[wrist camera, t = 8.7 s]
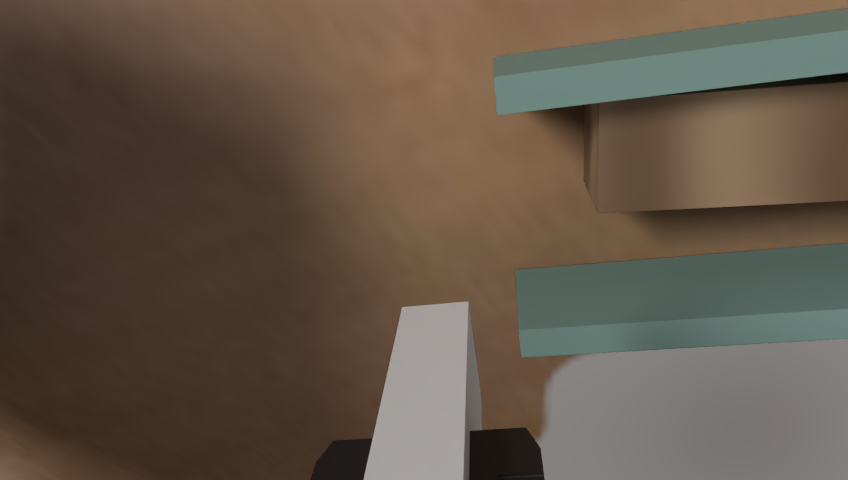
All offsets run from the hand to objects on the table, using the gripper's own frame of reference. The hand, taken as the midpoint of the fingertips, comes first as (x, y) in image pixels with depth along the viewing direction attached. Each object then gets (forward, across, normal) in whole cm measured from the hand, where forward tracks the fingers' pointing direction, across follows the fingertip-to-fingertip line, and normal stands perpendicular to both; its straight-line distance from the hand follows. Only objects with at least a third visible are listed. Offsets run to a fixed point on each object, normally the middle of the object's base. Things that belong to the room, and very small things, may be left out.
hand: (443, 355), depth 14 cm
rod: (+13, +13, +1) cm, 18 cm away
